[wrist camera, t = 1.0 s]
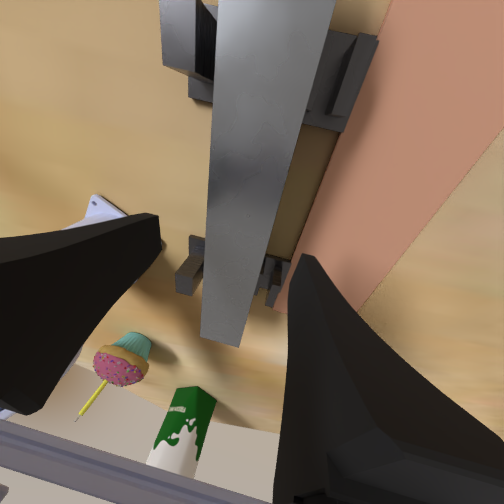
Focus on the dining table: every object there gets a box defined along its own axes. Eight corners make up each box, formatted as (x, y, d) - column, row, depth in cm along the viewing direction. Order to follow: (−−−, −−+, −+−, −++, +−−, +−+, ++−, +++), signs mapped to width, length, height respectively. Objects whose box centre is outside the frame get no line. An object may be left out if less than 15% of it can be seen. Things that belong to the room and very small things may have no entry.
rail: (246, 314, 22) (238, 347, 19) (213, 305, 23) (200, 336, 19) (359, -97, 8) (410, -264, 4) (259, -115, 8) (234, -289, 4)
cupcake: (144, 355, 39) (94, 434, 29) (108, 331, 36) (39, 409, 26) (170, 347, 35) (123, 434, 26) (132, 319, 32) (62, 405, 22)
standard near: (341, 132, 14) (362, 137, 10) (191, 97, 14) (149, 88, 10) (376, 43, 11) (425, -3, 7) (191, 4, 11) (135, -61, 7)
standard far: (280, 289, 23) (277, 326, 19) (190, 266, 23) (168, 296, 19) (291, 260, 20) (291, 295, 16) (190, 234, 21) (165, 262, 17)
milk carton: (196, 403, 49) (147, 543, 33) (171, 386, 46) (103, 533, 29) (222, 402, 46) (182, 559, 29) (197, 383, 42) (136, 549, 26)
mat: (342, 326, 24) (343, 328, 24) (272, 307, 25) (272, 309, 24) (610, -18, 9) (622, -24, 9) (412, -56, 9) (417, -62, 9)
